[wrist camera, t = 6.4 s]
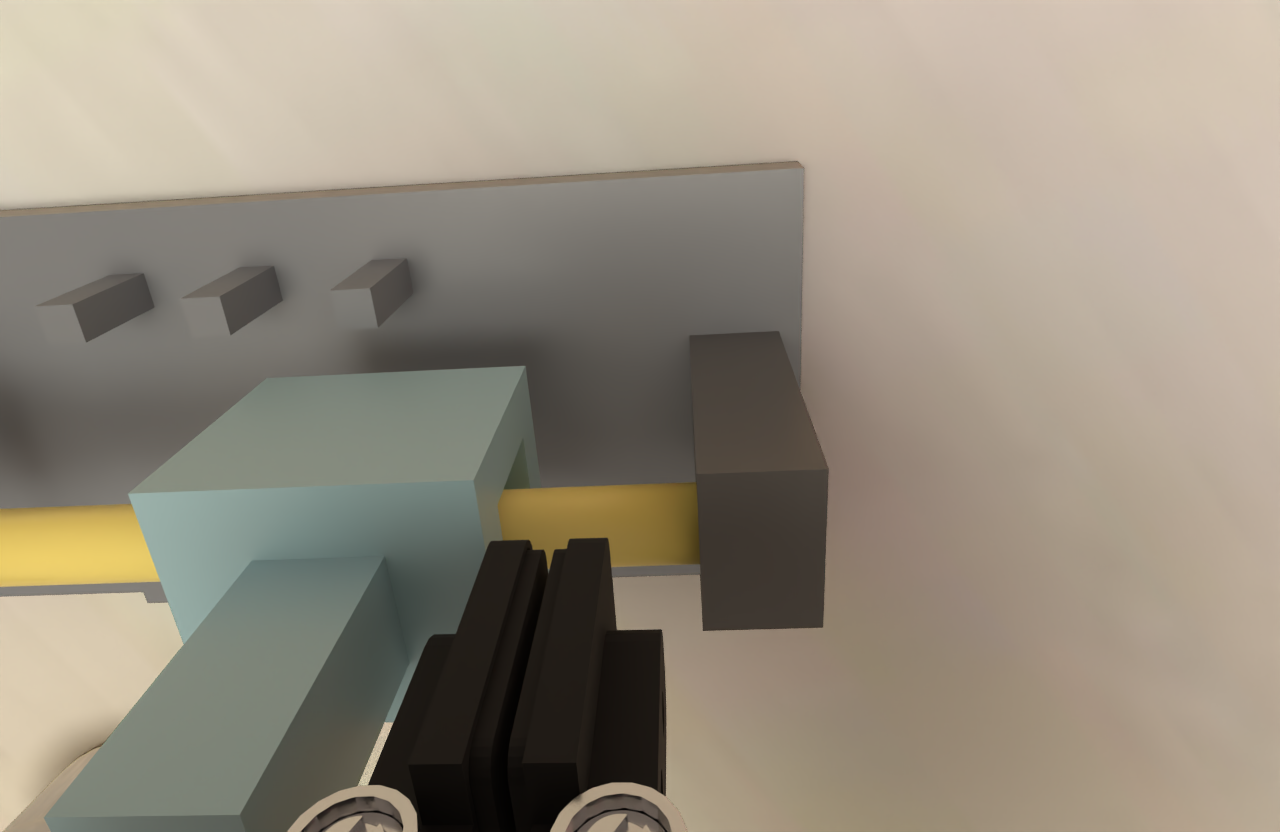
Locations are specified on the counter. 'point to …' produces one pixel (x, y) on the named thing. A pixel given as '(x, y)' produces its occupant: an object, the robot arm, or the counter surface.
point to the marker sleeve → (303, 589)
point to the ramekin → (48, 798)
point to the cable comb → (435, 361)
